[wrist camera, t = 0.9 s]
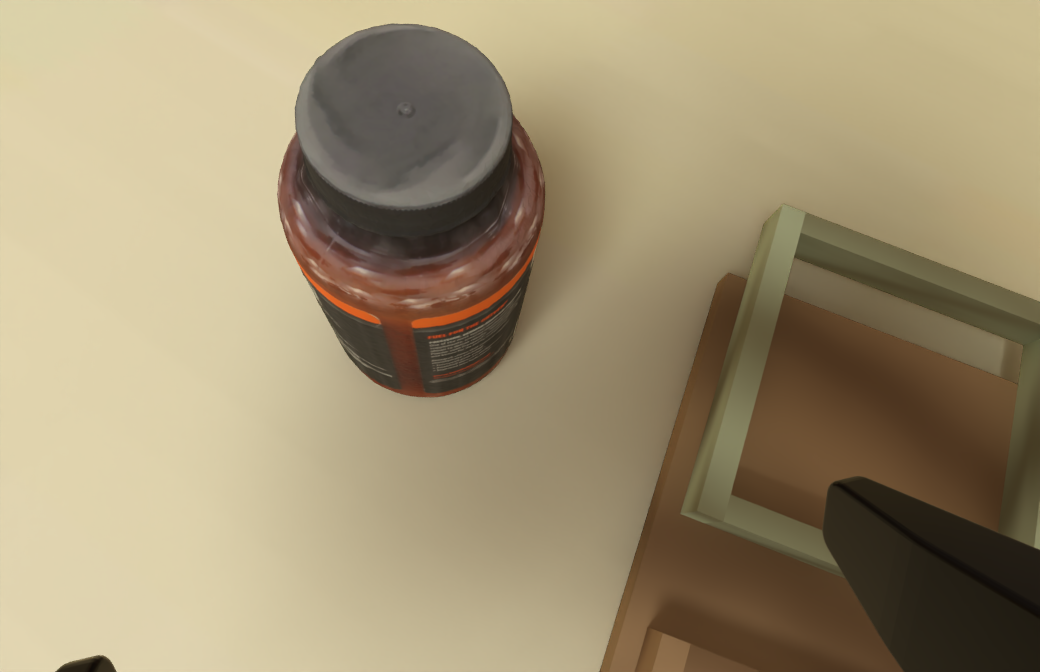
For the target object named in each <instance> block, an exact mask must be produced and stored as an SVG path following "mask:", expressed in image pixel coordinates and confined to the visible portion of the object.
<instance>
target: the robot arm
mask: <svg viewBox="0 0 1040 672" xmlns="http://www.w3.org/2000/svg"><path fill="white" fill-rule="evenodd" d="M822 532H823V538H824V541H825V544H826V546H827V548H828V550H829V551H830V553H831V555H832V556H833V558H834V560H835V562H836V563H837V565H838V567H839V568H840V570H841V572H842V573H843V575H844V577H845V578H846V580H847V582H848V584H849V585H850V587H851V589H852V590H853V592H854V594H855V595H856V597H857V599H858V600H859V602H860V604H861V605H862V607H863V609H864V611H865V612H866V614H867V616H868V617H869V619H870V621H871V622H872V624H873V626H874V627H875V629H876V631H877V633H878V634H879V636H880V637H881V639H882V640H883V642H884V644H885V645H886V647H887V648H888V650H889V651H890V653H891V654H892V656H893V657H894V659H895V660H896V662H897V663H898V664H899V666H900V667H901V669H902V670H903V671H904V672H1040V549H1037V548H1035V547H1032V546H1030V545H1028V544H1025V543H1023V542H1020V541H1018V540H1016V539H1013V538H1011V537H1008V536H1006V535H1004V534H1001V533H999V532H996V531H994V530H991V529H989V528H987V527H984V526H982V525H979V524H977V523H975V522H972V521H970V520H967V519H965V518H963V517H960V516H958V515H955V514H953V513H950V512H948V511H946V510H943V509H941V508H938V507H936V506H934V505H931V504H929V503H926V502H924V501H922V500H919V499H917V498H914V497H912V496H910V495H907V494H905V493H902V492H900V491H897V490H895V489H893V488H890V487H888V486H885V485H883V484H881V483H878V482H876V481H873V480H871V479H869V478H866V477H863V476H854V477H850V478H846V479H841V480H837V481H834V482H832V483H831V484H830V486H829V487H828V490H827V496H826V504H825V511H824V518H823V525H822ZM56 672H116V670H115V668H114V666H113V664H112V662H111V661H110V660H109V659H108V658H107V657H105V656H103V655H102V656H100V655H98V656H93V657H89V658H85V659H81V660H76V661H72V662H69V663H66V664H64V665H63V666H61V667H60V668H59V669H58V670H57V671H56Z"/></svg>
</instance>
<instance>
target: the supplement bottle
mask: <svg viewBox="0 0 1040 672" xmlns="http://www.w3.org/2000/svg"><path fill="white" fill-rule="evenodd" d="M295 123H296V133H295V134H294V136H293V138H292V140H291V141H290V143H289V145H288V148H287V151H286V153H285V155H284V159H283V163H282V166H281V169H280V174H279V180H278V193H277V195H278V204H279V212H280V218H281V222H282V225H283V229H284V232H285V235H286V238H287V241H288V244H289V246H290V248H291V250H292V252H293V254H294V256H295V258H296V260H297V262H298V264H299V266H300V268H301V270H302V273H303V275H304V276H305V278H306V279H307V281H308V283H309V285H310V287H311V289H312V291H313V293H314V295H315V297H316V299H317V301H318V303H319V305H320V306H321V308H322V310H323V312H324V313H325V315H326V317H327V319H328V321H329V323H330V324H331V326H332V328H333V330H334V332H335V334H336V335H337V337H338V339H339V341H340V343H341V345H342V347H343V348H344V350H345V352H346V353H347V355H348V357H349V358H350V359H351V360H352V361H353V362H354V363H355V365H356V366H357V367H358V368H359V369H360V370H361V371H362V372H363V373H364V374H365V375H366V376H367V377H368V378H370V379H371V380H372V381H373V382H375V383H377V384H379V385H380V386H382V387H384V388H386V389H389V390H391V391H394V392H397V393H400V394H404V395H409V396H416V397H439V396H445V395H449V394H452V393H456V392H458V391H461V390H463V389H466V388H468V387H470V386H472V385H473V384H475V383H477V382H478V381H480V380H481V379H482V378H484V377H485V376H486V375H487V374H489V373H490V372H491V371H492V370H493V369H494V368H495V367H496V366H497V364H498V363H499V362H500V360H501V359H502V357H503V356H504V354H505V353H506V351H507V349H508V346H509V345H510V343H511V341H512V339H513V336H514V333H515V330H516V326H517V322H518V318H519V314H520V311H521V307H522V303H523V299H524V295H525V292H526V288H527V284H528V281H529V276H530V273H531V268H532V265H533V260H534V256H535V252H536V248H537V244H538V240H539V235H540V231H541V227H542V223H543V216H544V207H545V182H544V177H543V172H542V168H541V164H540V161H539V159H538V156H537V153H536V150H535V149H534V147H533V144H532V142H531V140H530V138H529V136H528V135H527V133H526V131H525V130H524V128H523V127H522V126H521V125H520V122H519V121H518V120H517V119H516V118H515V116H514V115H513V112H512V104H511V101H510V95H509V92H508V90H507V87H506V85H505V82H504V81H503V79H502V77H501V75H500V74H499V72H498V71H497V69H496V68H495V66H494V65H493V64H492V63H491V62H490V60H489V59H488V58H487V57H486V56H485V55H484V54H483V53H481V52H480V51H479V50H478V49H477V48H476V47H474V46H473V45H471V44H470V43H468V42H467V41H465V40H463V39H461V38H460V37H458V36H456V35H453V34H451V33H449V32H446V31H443V30H440V29H438V28H434V27H428V26H423V25H418V24H387V25H382V26H376V27H371V28H368V29H365V30H361V31H357V32H355V33H354V34H352V35H350V36H348V37H346V38H344V39H343V40H341V41H340V42H338V43H337V44H335V45H334V46H332V47H331V48H330V49H328V50H327V51H326V52H325V53H324V54H323V55H322V56H320V57H318V58H317V60H316V61H315V63H314V65H313V66H312V67H311V69H310V70H309V71H308V73H307V74H306V76H305V78H304V80H303V82H302V84H301V86H300V91H299V94H298V97H297V101H296V106H295Z"/></svg>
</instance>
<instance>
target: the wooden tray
mask: <svg viewBox="0 0 1040 672" xmlns="http://www.w3.org/2000/svg"><path fill="white" fill-rule="evenodd" d="M794 257H796V258H798V259H801V260H803V261H806V262H809V263H811V264H814V265H816V266H819V267H822V268H824V269H827V270H829V271H832V272H835V273H837V274H840V275H842V276H845V277H848V278H850V279H853V280H855V281H858V282H861V283H863V284H866V285H868V286H871V287H874V288H876V289H879V290H881V291H884V292H887V293H889V294H892V295H894V296H897V297H900V298H902V299H905V300H907V301H910V302H913V303H915V304H918V305H920V306H923V307H926V308H928V309H931V310H934V311H936V312H939V313H941V314H944V315H947V316H949V317H952V318H954V319H957V320H960V321H962V322H965V323H967V324H970V325H973V326H975V327H978V328H980V329H983V330H986V331H988V332H991V333H993V334H996V335H999V336H1001V337H1004V338H1006V339H1009V340H1012V341H1014V342H1017V343H1019V344H1022V345H1023V353H1022V360H1021V367H1020V374H1019V382H1018V384H1016V383H1014V382H1011V381H1008V380H1006V379H1003V378H1001V377H998V376H995V375H993V374H990V373H988V372H985V371H982V370H980V369H977V368H975V367H972V366H969V365H967V364H964V363H962V362H959V361H956V360H954V359H951V358H949V357H946V356H943V355H941V354H938V353H936V352H933V351H930V350H928V349H925V348H923V347H920V346H917V345H915V344H912V343H910V342H907V341H904V340H902V339H899V338H897V337H894V336H892V335H889V334H886V333H884V332H881V331H879V330H876V329H873V328H871V327H868V326H866V325H863V324H860V323H858V322H855V321H853V320H850V319H847V318H845V317H842V316H840V315H837V314H834V313H832V312H829V311H827V310H824V309H821V308H819V307H816V306H814V305H811V304H808V303H806V302H803V301H801V300H798V299H795V298H793V297H790V296H788V295H785V294H784V292H785V289H786V285H787V281H788V277H789V274H790V270H791V266H792V262H793V259H794ZM854 476H863V477H866V478H869V479H871V480H873V481H876V482H878V483H881V484H883V485H885V486H888V487H890V488H893V489H895V490H897V491H900V492H902V493H905V494H907V495H910V496H912V497H914V498H917V499H919V500H922V501H924V502H926V503H929V504H931V505H934V506H936V507H938V508H941V509H943V510H946V511H948V512H950V513H953V514H955V515H958V516H960V517H963V518H965V519H967V520H970V521H972V522H975V523H977V524H979V525H982V526H984V527H987V528H989V529H991V530H994V531H996V532H999V533H1001V534H1004V535H1006V536H1008V537H1011V538H1013V539H1016V540H1018V541H1020V542H1023V543H1025V544H1028V545H1030V546H1032V547H1035V548H1037V549H1040V302H1039V301H1036V300H1034V299H1031V298H1028V297H1026V296H1023V295H1021V294H1018V293H1015V292H1013V291H1010V290H1007V289H1005V288H1002V287H1000V286H997V285H994V284H992V283H989V282H987V281H984V280H981V279H979V278H976V277H973V276H971V275H968V274H966V273H963V272H960V271H958V270H955V269H953V268H950V267H947V266H945V265H942V264H939V263H937V262H934V261H932V260H929V259H926V258H924V257H921V256H919V255H916V254H913V253H911V252H908V251H906V250H903V249H900V248H898V247H895V246H892V245H890V244H887V243H885V242H882V241H879V240H877V239H874V238H872V237H869V236H866V235H864V234H861V233H858V232H856V231H853V230H851V229H848V228H845V227H843V226H840V225H838V224H835V223H832V222H830V221H827V220H825V219H822V218H819V217H817V216H814V215H811V214H809V213H806V212H804V211H801V210H798V209H796V208H793V207H791V206H788V205H785V204H782V205H781V207H780V208H779V209H778V210H777V211H776V212H775V213H774V214H773V215H772V216H771V217H770V218H769V219H768V220H767V221H766V222H765V223H764V225H763V228H762V232H761V235H760V239H759V242H758V246H757V249H756V252H755V256H754V259H753V263H752V266H751V270H750V273H749V277H748V280H746V279H744V278H741V277H738V276H736V275H733V274H731V273H728V274H727V275H726V276H725V277H724V278H723V279H722V280H721V281H720V282H719V283H718V284H717V287H716V290H715V294H714V297H713V300H712V304H711V307H710V310H709V313H708V317H707V320H706V323H705V327H704V330H703V333H702V337H701V340H700V343H699V346H698V350H697V353H696V356H695V360H694V363H693V366H692V370H691V373H690V376H689V379H688V383H687V386H686V389H685V393H684V396H683V399H682V403H681V406H680V409H679V412H678V416H677V419H676V422H675V426H674V429H673V432H672V436H671V439H670V442H669V445H668V449H667V452H666V455H665V459H664V462H663V465H662V468H661V472H660V475H659V478H658V482H657V485H656V488H655V492H654V495H653V498H652V501H651V505H650V508H649V511H648V515H647V518H646V521H645V525H644V528H643V531H642V534H641V538H640V541H639V544H638V548H637V551H636V554H635V558H634V561H633V564H632V567H631V571H630V574H629V577H628V581H627V584H626V587H625V591H624V594H623V597H622V600H621V604H620V607H619V610H618V614H617V617H616V620H615V624H614V627H613V630H612V633H611V637H610V640H609V643H608V647H607V650H606V653H605V656H604V660H603V663H602V666H601V670H600V672H904V671H903V670H902V669H901V667H900V666H899V664H898V663H897V662H896V660H895V659H894V657H893V656H892V654H891V653H890V651H889V650H888V648H887V647H886V645H885V644H884V642H883V640H882V639H881V637H880V636H879V634H878V633H877V631H876V629H875V627H874V626H873V624H872V622H871V621H870V619H869V617H868V616H867V614H866V612H865V611H864V609H863V607H862V605H861V604H860V602H859V600H858V599H857V597H856V595H855V594H854V592H853V590H852V589H851V587H850V585H849V584H848V582H847V580H846V578H845V577H844V575H843V573H842V572H841V570H840V568H839V567H838V565H837V563H836V562H835V560H834V558H833V556H832V555H831V553H830V551H829V550H828V548H827V546H826V544H825V541H824V538H823V532H822V525H823V518H824V511H825V504H826V496H827V490H828V487H829V486H830V484H831V483H832V482H834V481H837V480H841V479H846V478H850V477H854Z"/></svg>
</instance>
